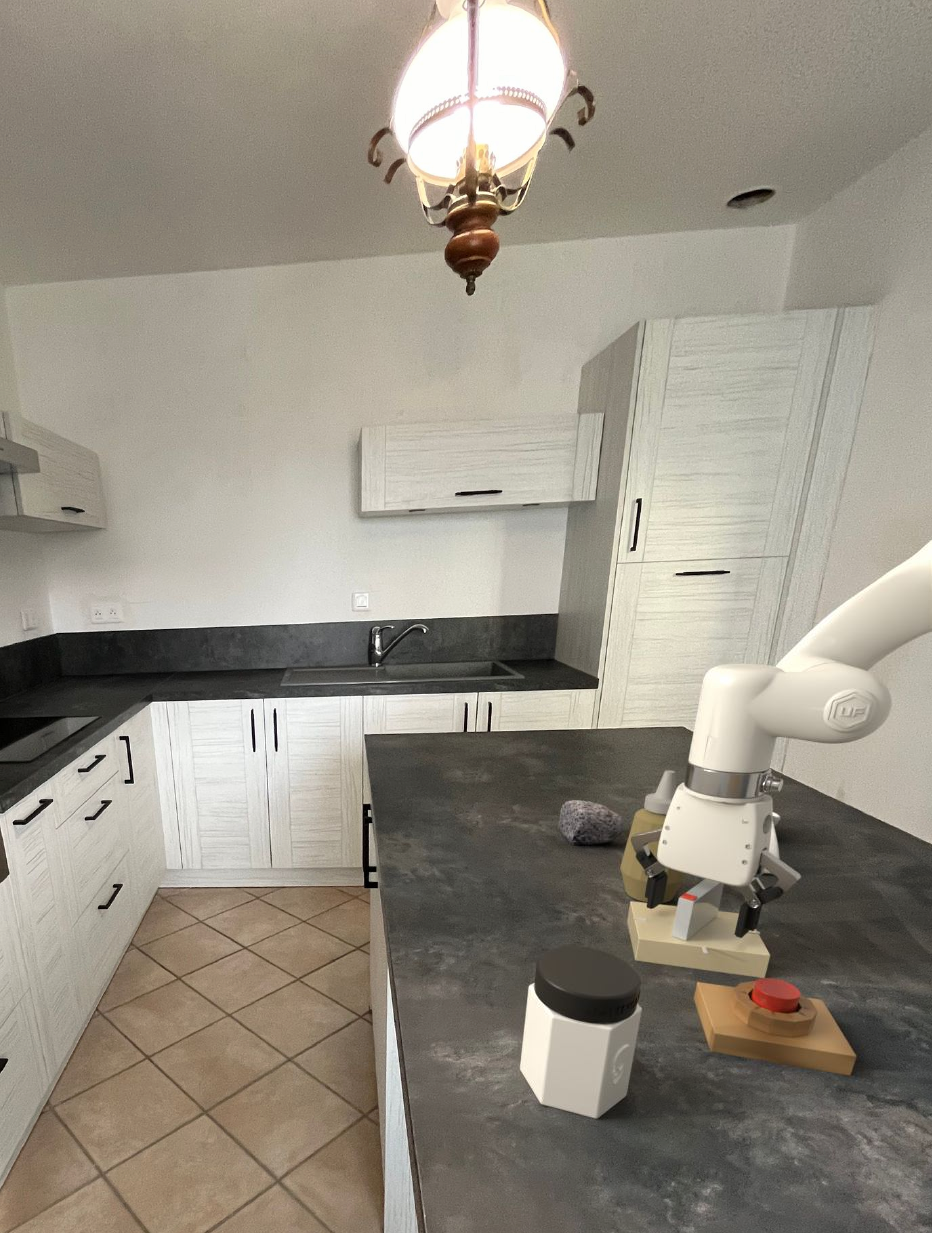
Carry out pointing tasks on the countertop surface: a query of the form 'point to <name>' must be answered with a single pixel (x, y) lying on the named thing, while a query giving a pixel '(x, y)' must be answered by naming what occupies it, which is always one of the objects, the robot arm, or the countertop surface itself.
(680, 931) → the red-tipped gray slab
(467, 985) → the countertop surface
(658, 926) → the base
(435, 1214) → the countertop surface
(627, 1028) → the jar
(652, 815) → the squeeze bottle
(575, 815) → the pumice stone
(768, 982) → the button
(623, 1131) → the countertop surface
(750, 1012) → the button block
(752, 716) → the robot arm
